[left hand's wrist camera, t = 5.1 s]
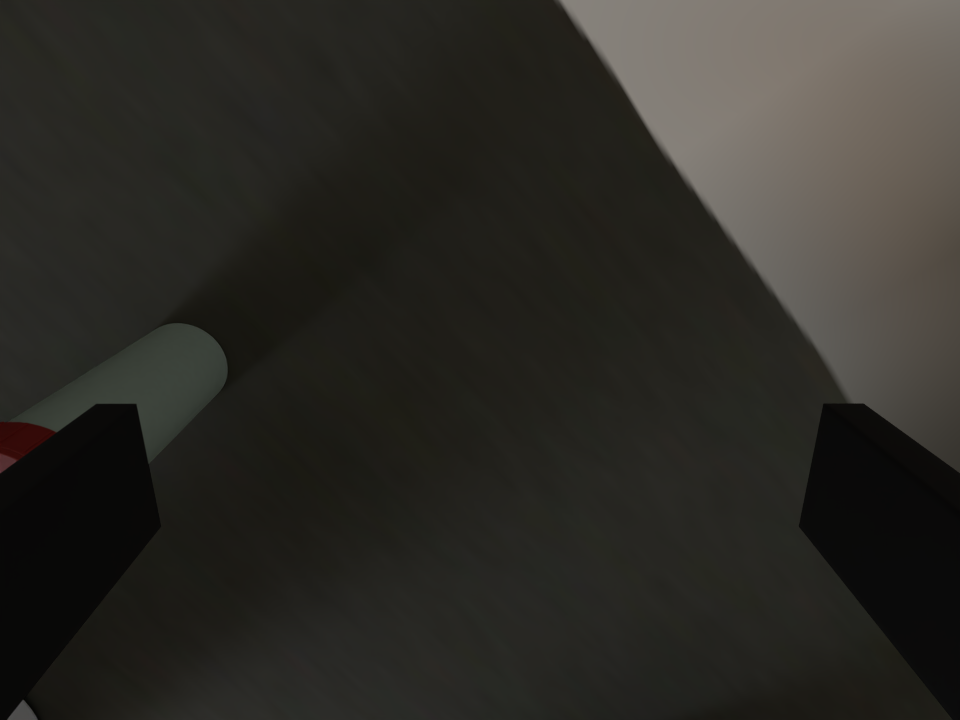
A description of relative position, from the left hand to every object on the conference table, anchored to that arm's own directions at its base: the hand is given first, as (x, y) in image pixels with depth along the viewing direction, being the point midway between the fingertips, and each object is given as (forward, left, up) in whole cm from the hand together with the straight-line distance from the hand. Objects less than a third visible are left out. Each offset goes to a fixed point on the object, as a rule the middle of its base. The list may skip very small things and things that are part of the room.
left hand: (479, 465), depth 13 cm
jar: (-8, +19, -28) cm, 35 cm away
